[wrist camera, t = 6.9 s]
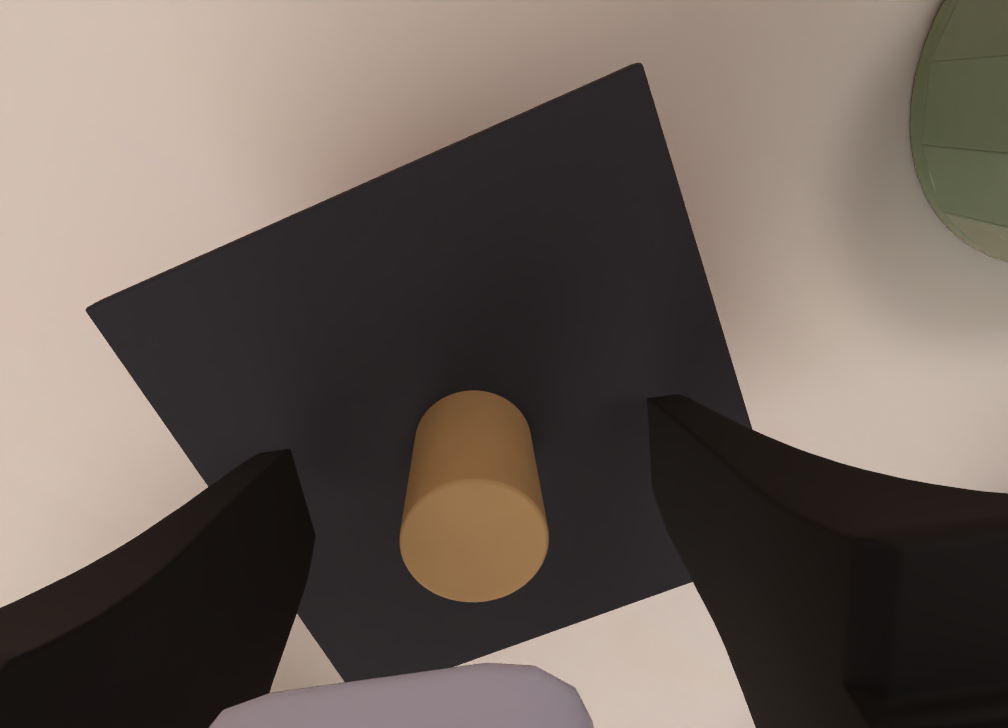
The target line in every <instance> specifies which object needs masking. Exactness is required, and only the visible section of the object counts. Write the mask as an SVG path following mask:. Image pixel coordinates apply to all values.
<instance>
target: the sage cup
mask: <svg viewBox="0 0 1008 728" xmlns="http://www.w3.org/2000/svg"><path fill="white" fill-rule="evenodd" d="M910 135H911V146H912V155H913V159H914V163H915V168H916V172H917V176H918V179H919V181H920V184H921V186H922V189H923V191H924V194H925V196H926V198H927V200H928V201H929V203H930V205H931V206H932V208H933V210H934V211H935V213H936V215H937V216H938V217H939V218H940V219H941V220H942V222H943V223H944V224H945V225H946V226H947V228H948V229H949V230H950V231H951V232H953V233H954V234H955V235H956V236H957V237H959V238H960V239H961V240H962V241H963V242H965V243H966V244H968V245H970V246H971V247H973V248H975V249H977V250H978V251H980V252H982V253H984V254H985V255H988V256H989V257H992V258H995V259H999V260H1002V261H1005V262H1008V0H944V2H943V4H942V6H941V8H940V10H939V12H938V14H937V16H936V18H935V19H934V22H933V24H932V27H931V29H930V32H929V34H928V37H927V40H926V42H925V45H924V47H923V50H922V54H921V57H920V61H919V65H918V68H917V72H916V76H915V81H914V88H913V94H912V100H911V116H910Z"/></svg>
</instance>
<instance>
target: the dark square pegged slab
mask: <svg viewBox="0 0 1008 728" xmlns="http://www.w3.org/2000/svg"><path fill="white" fill-rule="evenodd" d="M86 312H87V313H88V315H89V316H90V318H91V319H92V321H93V322H94V323H95V325H96V326H97V328H98V329H99V331H100V332H101V333H102V335H103V336H104V338H105V339H106V341H107V342H108V343H109V345H110V346H111V348H112V349H113V351H114V352H115V354H116V355H117V356H118V358H119V359H120V361H121V362H122V364H123V365H124V366H125V368H126V369H127V371H128V372H129V374H130V375H131V376H132V378H133V379H134V381H135V382H136V384H137V385H138V386H139V388H140V389H141V391H142V392H143V394H144V395H145V396H146V398H147V399H148V401H149V402H150V404H151V405H152V407H153V408H154V409H155V411H156V412H157V414H158V415H159V417H160V418H161V419H162V421H163V422H164V424H165V425H166V427H167V428H168V429H169V431H170V432H171V434H172V435H173V437H174V438H175V439H176V441H177V442H178V444H179V445H180V447H181V448H182V449H183V451H184V452H185V454H186V455H187V457H188V458H189V460H190V461H191V462H192V464H193V465H194V467H195V468H196V470H197V471H198V472H199V474H200V475H201V477H202V478H203V480H204V481H205V482H206V484H207V485H208V487H209V486H211V485H212V484H213V483H215V482H216V481H218V480H219V479H220V478H222V477H223V476H224V475H226V474H227V473H229V472H230V471H231V470H233V469H234V468H236V467H237V466H239V465H240V464H242V463H243V462H245V461H246V460H248V459H249V458H251V457H253V456H255V455H257V454H258V453H262V452H269V451H277V450H284V449H291V452H292V456H293V459H294V463H295V466H296V469H297V473H298V476H299V480H300V483H301V487H302V490H303V493H304V497H305V500H306V504H307V507H308V511H309V514H310V517H311V521H312V524H313V528H314V531H315V535H316V537H315V543H314V549H313V555H312V561H311V566H310V571H309V576H308V581H307V584H306V587H305V590H304V593H303V596H302V599H301V602H300V605H299V608H298V611H297V614H298V616H299V617H300V619H301V620H302V621H303V623H304V624H305V626H306V627H307V629H308V630H309V631H310V633H311V634H312V636H313V637H314V639H315V640H316V641H317V643H318V644H319V646H320V647H321V649H322V650H323V651H324V653H325V654H326V656H327V657H328V659H329V660H330V662H331V663H332V664H333V666H334V667H335V669H336V670H337V672H338V673H339V674H340V676H341V677H342V679H343V680H344V682H352V681H359V680H367V679H374V678H381V677H388V676H395V675H402V674H410V673H417V672H424V671H431V670H438V669H445V668H452V667H454V666H457V665H460V664H463V663H466V662H468V661H471V660H474V659H477V658H480V657H483V656H485V655H488V654H491V653H494V652H497V651H499V650H502V649H505V648H508V647H511V646H513V645H516V644H519V643H522V642H525V641H527V640H530V639H533V638H536V637H539V636H541V635H544V634H547V633H550V632H553V631H556V630H558V629H561V628H564V627H567V626H570V625H572V624H575V623H578V622H581V621H584V620H586V619H589V618H592V617H595V616H598V615H600V614H603V613H606V612H609V611H612V610H615V609H617V608H620V607H623V606H626V605H629V604H631V603H634V602H637V601H640V600H643V599H645V598H648V597H651V596H654V595H657V594H659V593H662V592H665V591H668V590H671V589H673V588H676V587H679V586H682V585H685V584H688V583H690V582H693V581H692V579H691V577H690V575H689V573H688V571H687V569H686V568H685V566H684V564H683V562H682V560H681V558H680V556H679V554H678V552H677V550H676V548H675V546H674V544H673V542H672V540H671V538H670V536H669V534H668V532H667V530H666V528H665V525H664V522H663V519H662V517H661V514H660V511H659V508H658V505H657V502H656V499H655V496H654V493H653V490H652V482H651V464H650V445H649V427H648V408H647V398H653V397H660V396H667V395H674V394H680V395H683V396H685V397H687V398H689V399H692V400H694V401H696V402H698V403H700V404H702V405H704V406H706V407H708V408H709V409H711V410H713V411H715V412H717V413H719V414H721V415H723V416H725V417H727V418H729V419H731V420H733V421H735V422H737V423H739V424H741V425H743V426H745V427H748V428H750V429H752V427H751V424H750V420H749V417H748V414H747V410H746V407H745V404H744V400H743V397H742V394H741V390H740V387H739V384H738V380H737V377H736V374H735V370H734V367H733V364H732V360H731V357H730V354H729V350H728V347H727V344H726V340H725V337H724V334H723V331H722V327H721V324H720V321H719V317H718V314H717V311H716V307H715V304H714V301H713V297H712V294H711V291H710V287H709V284H708V281H707V277H706V274H705V271H704V267H703V264H702V261H701V257H700V254H699V251H698V247H697V244H696V241H695V237H694V234H693V231H692V227H691V224H690V221H689V218H688V214H687V211H686V208H685V204H684V201H683V198H682V194H681V191H680V188H679V184H678V181H677V178H676V174H675V171H674V168H673V164H672V161H671V158H670V154H669V151H668V148H667V144H666V141H665V138H664V134H663V131H662V128H661V124H660V121H659V118H658V114H657V111H656V108H655V105H654V101H653V98H652V95H651V91H650V88H649V85H648V81H647V78H646V75H645V71H644V68H643V65H642V64H641V63H636V64H632V65H629V66H627V67H625V68H623V69H620V70H618V71H616V72H614V73H611V74H609V75H607V76H605V77H602V78H600V79H598V80H596V81H593V82H591V83H589V84H586V85H584V86H582V87H580V88H577V89H575V90H573V91H571V92H568V93H566V94H564V95H562V96H559V97H557V98H555V99H553V100H550V101H548V102H546V103H544V104H541V105H539V106H537V107H535V108H532V109H530V110H528V111H526V112H523V113H521V114H519V115H517V116H514V117H512V118H510V119H508V120H505V121H503V122H501V123H499V124H496V125H494V126H492V127H490V128H487V129H485V130H483V131H481V132H478V133H476V134H474V135H472V136H469V137H467V138H465V139H462V140H460V141H458V142H456V143H453V144H451V145H449V146H447V147H444V148H442V149H440V150H438V151H435V152H433V153H431V154H429V155H426V156H424V157H422V158H420V159H417V160H415V161H413V162H411V163H408V164H406V165H404V166H402V167H399V168H397V169H395V170H393V171H390V172H388V173H386V174H384V175H381V176H379V177H377V178H375V179H372V180H370V181H368V182H366V183H363V184H361V185H359V186H357V187H354V188H352V189H350V190H348V191H345V192H343V193H341V194H339V195H336V196H334V197H332V198H329V199H327V200H325V201H323V202H320V203H318V204H316V205H314V206H311V207H309V208H307V209H305V210H302V211H300V212H298V213H296V214H293V215H291V216H289V217H287V218H284V219H282V220H280V221H278V222H275V223H273V224H271V225H269V226H266V227H264V228H262V229H260V230H257V231H255V232H253V233H251V234H248V235H246V236H244V237H242V238H239V239H237V240H235V241H233V242H230V243H228V244H226V245H224V246H221V247H219V248H217V249H215V250H212V251H210V252H208V253H206V254H203V255H201V256H199V257H196V258H194V259H192V260H190V261H187V262H185V263H183V264H181V265H178V266H176V267H174V268H172V269H169V270H167V271H165V272H163V273H160V274H158V275H156V276H154V277H151V278H149V279H147V280H145V281H142V282H140V283H138V284H136V285H133V286H131V287H129V288H127V289H124V290H122V291H120V292H118V293H115V294H113V295H111V296H109V297H106V298H104V299H102V300H100V301H98V302H96V303H94V304H92V305H91V306H89V307H87V308H86Z"/></svg>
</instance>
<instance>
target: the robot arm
mask: <svg viewBox="0 0 1008 728" xmlns="http://www.w3.org/2000/svg"><path fill="white" fill-rule="evenodd" d="M647 408H648V427H649V445H650V464H651V482H652V490H653V493H654V496H655V499H656V502H657V505H658V508H659V511H660V514H661V517H662V519H663V522H664V525H665V528H666V530H667V532H668V534H669V536H670V538H671V540H672V542H673V544H674V546H675V548H676V550H677V552H678V554H679V556H680V558H681V560H682V562H683V564H684V566H685V568H686V569H687V571H688V573H689V575H690V577H691V579H692V581H693V583H694V585H695V587H696V589H697V591H698V592H699V594H700V596H701V598H702V600H703V602H704V604H705V606H706V608H707V610H708V612H709V614H710V615H711V617H712V619H713V621H714V623H715V626H716V628H717V630H718V632H719V634H720V636H721V638H722V641H723V643H724V645H725V648H726V650H727V653H728V656H729V658H730V661H731V663H732V666H733V668H734V671H735V674H736V676H737V679H738V681H739V684H740V686H741V689H742V692H743V694H744V697H745V700H746V702H747V705H748V708H749V710H750V713H751V716H752V719H753V721H754V724H755V727H756V728H1008V494H1006V493H995V492H983V491H975V490H968V489H961V488H955V487H948V486H941V485H935V484H929V483H923V482H918V481H913V480H907V479H902V478H898V477H893V476H889V475H885V474H880V473H876V472H872V471H868V470H863V469H860V468H856V467H852V466H849V465H845V464H842V463H838V462H835V461H832V460H829V459H826V458H823V457H820V456H817V455H814V454H810V453H808V452H805V451H802V450H799V449H797V448H794V447H791V446H789V445H787V444H784V443H782V442H779V441H777V440H775V439H772V438H770V437H767V436H765V435H763V434H761V433H758V432H756V431H754V430H752V429H750V428H748V427H745V426H743V425H741V424H739V423H737V422H735V421H733V420H731V419H729V418H727V417H725V416H723V415H721V414H719V413H717V412H715V411H713V410H711V409H709V408H708V407H706V406H704V405H702V404H700V403H698V402H696V401H694V400H692V399H689V398H687V397H685V396H683V395H680V394H674V395H667V396H660V397H653V398H647ZM315 537H316V535H315V531H314V528H313V524H312V521H311V517H310V514H309V511H308V507H307V504H306V500H305V497H304V493H303V490H302V487H301V483H300V480H299V476H298V473H297V469H296V466H295V463H294V459H293V456H292V452H291V449H284V450H277V451H269V452H262V453H258V454H257V455H255V456H253V457H251V458H249V459H248V460H246V461H245V462H243V463H242V464H240V465H239V466H237V467H236V468H234V469H233V470H231V471H230V472H229V473H227V474H226V475H224V476H223V477H222V478H220V479H219V480H218V481H216V482H215V483H213V484H212V485H211V486H209V487H208V488H207V489H205V490H204V491H202V492H201V493H200V494H198V495H197V496H196V497H194V498H193V499H191V500H190V501H189V502H187V503H186V504H184V505H183V506H182V507H180V508H179V509H177V510H176V511H174V512H173V513H171V514H170V515H168V516H167V517H165V518H164V519H162V520H161V521H159V522H158V523H156V524H155V525H153V526H152V527H151V528H149V529H148V530H146V531H145V532H143V533H142V534H140V535H139V536H137V537H135V538H134V539H132V540H131V541H129V542H127V543H126V544H124V545H122V546H121V547H119V548H117V549H116V550H114V551H112V552H111V553H109V554H107V555H105V556H104V557H102V558H100V559H98V560H96V561H95V562H93V563H91V564H89V565H88V566H86V567H84V568H82V569H80V570H78V571H76V572H75V573H73V574H71V575H69V576H67V577H65V578H62V579H60V580H58V581H56V582H54V583H52V584H50V585H48V586H46V587H44V588H42V589H40V590H38V591H36V592H34V593H32V594H30V595H28V596H25V597H23V598H21V599H19V600H17V601H15V602H13V603H11V604H8V605H6V606H4V607H1V608H0V728H594V727H593V721H592V719H591V717H590V715H589V713H588V711H587V709H586V707H585V705H584V704H583V702H582V700H581V698H580V696H579V694H578V692H577V690H576V688H575V687H573V686H571V685H569V684H567V683H566V682H564V681H562V680H560V679H558V678H557V677H555V676H553V675H551V674H549V673H547V672H546V671H544V670H542V669H540V668H538V667H536V666H531V665H515V664H498V663H481V664H474V665H467V666H460V667H453V668H445V669H438V670H431V671H424V672H417V673H410V674H402V675H395V676H388V677H381V678H374V679H367V680H359V681H352V682H345V683H338V684H331V685H324V686H316V687H309V688H302V689H295V690H288V691H281V692H274V693H270V689H271V686H272V683H273V680H274V677H275V674H276V671H277V668H278V665H279V663H280V660H281V657H282V654H283V651H284V648H285V645H286V642H287V640H288V637H289V634H290V631H291V628H292V625H293V622H294V620H295V617H296V614H297V611H298V608H299V605H300V602H301V599H302V596H303V593H304V590H305V587H306V584H307V581H308V576H309V571H310V566H311V561H312V555H313V549H314V543H315Z"/></svg>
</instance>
